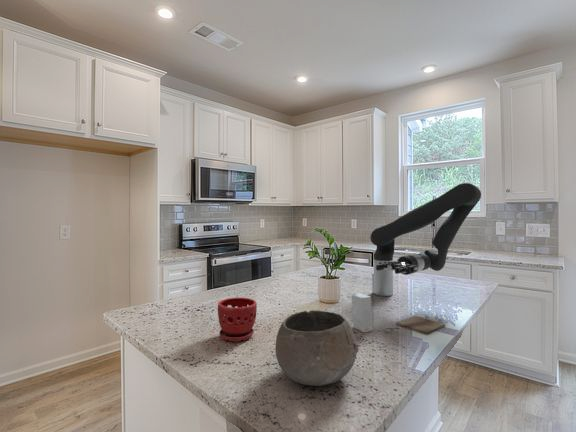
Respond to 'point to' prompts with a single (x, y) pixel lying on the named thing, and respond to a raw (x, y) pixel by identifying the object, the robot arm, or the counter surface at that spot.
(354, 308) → the skincare box
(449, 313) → the counter surface
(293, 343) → the clay pot
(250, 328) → the plant pot
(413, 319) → the walnut board
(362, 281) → the counter surface
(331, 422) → the counter surface
